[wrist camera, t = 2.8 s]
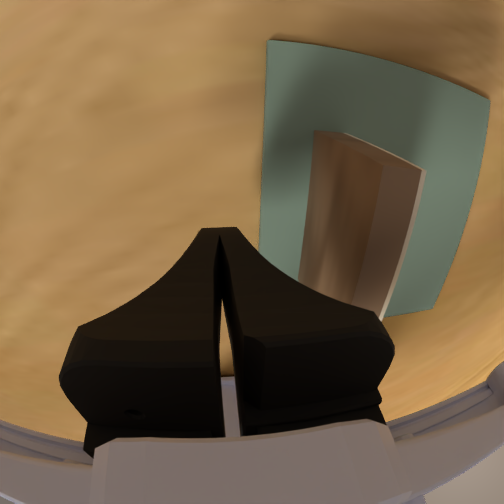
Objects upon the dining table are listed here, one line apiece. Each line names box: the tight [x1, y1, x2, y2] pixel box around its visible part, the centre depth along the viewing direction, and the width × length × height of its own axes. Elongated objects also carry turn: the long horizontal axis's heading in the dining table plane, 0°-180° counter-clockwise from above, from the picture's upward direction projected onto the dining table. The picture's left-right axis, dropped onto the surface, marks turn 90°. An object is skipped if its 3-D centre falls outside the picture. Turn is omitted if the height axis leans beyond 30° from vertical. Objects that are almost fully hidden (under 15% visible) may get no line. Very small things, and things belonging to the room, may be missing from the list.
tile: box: [298, 130, 427, 321], centre depth 12 cm, size 8×2×6 cm, turn 178°
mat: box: [258, 40, 490, 318], centre depth 15 cm, size 16×14×1 cm
